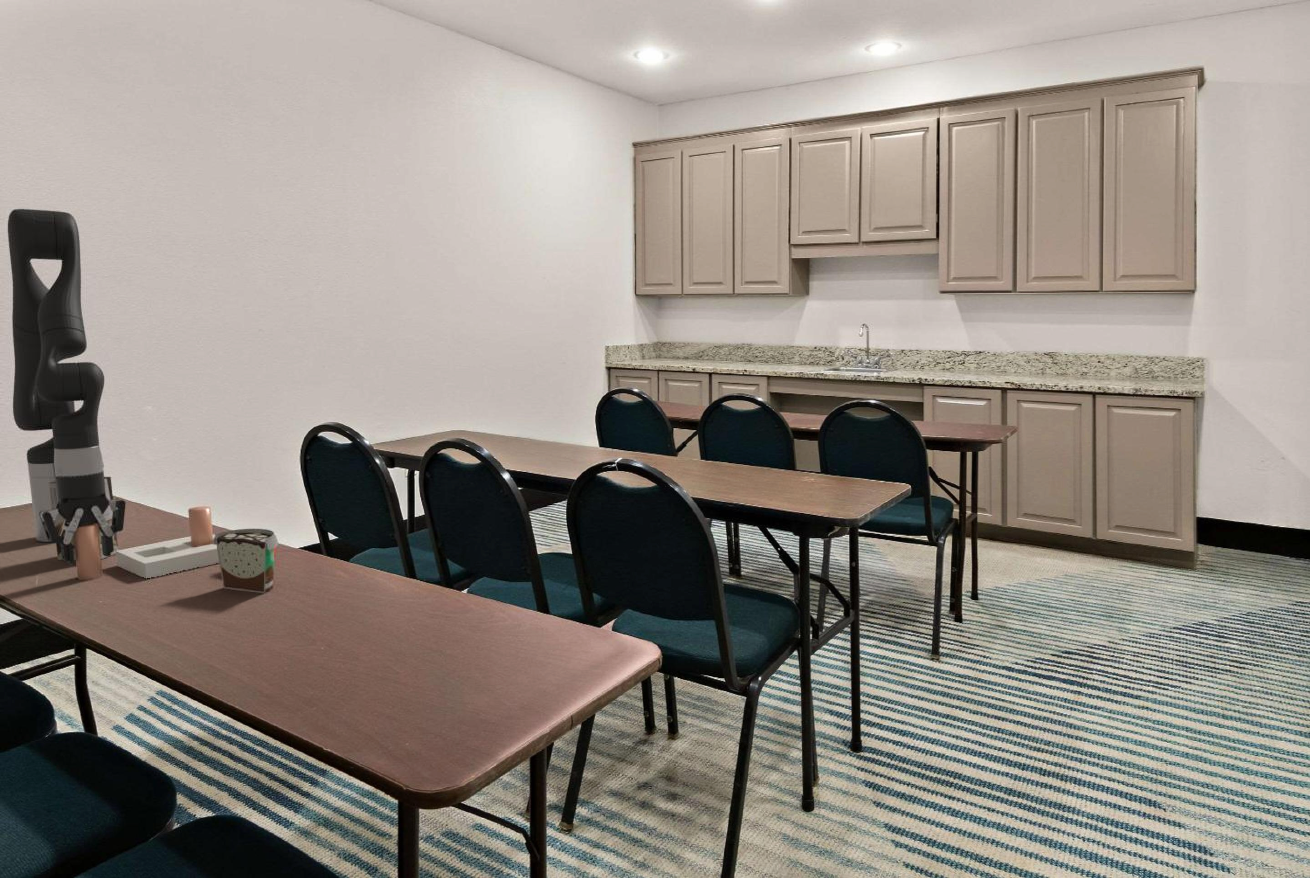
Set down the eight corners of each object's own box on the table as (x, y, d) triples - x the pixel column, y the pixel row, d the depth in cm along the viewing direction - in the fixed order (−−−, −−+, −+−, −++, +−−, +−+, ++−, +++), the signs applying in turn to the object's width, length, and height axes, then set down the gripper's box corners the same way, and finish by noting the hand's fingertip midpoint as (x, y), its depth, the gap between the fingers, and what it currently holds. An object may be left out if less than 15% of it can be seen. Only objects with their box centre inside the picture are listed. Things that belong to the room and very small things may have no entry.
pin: (74, 577, 167) (69, 525, 166) (98, 572, 170) (93, 521, 169) (82, 581, 165) (77, 528, 163) (106, 576, 168) (101, 524, 166)
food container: (296, 584, 163) (292, 530, 161) (271, 594, 157) (267, 539, 156) (242, 577, 167) (238, 525, 165) (217, 587, 161) (212, 533, 160)
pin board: (117, 565, 175) (112, 516, 173) (210, 546, 189) (206, 500, 187) (146, 579, 166) (141, 526, 165) (241, 557, 180) (238, 509, 178)
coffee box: (120, 552, 184) (112, 476, 182) (98, 561, 178) (90, 482, 176) (79, 551, 185) (71, 475, 183) (55, 560, 179) (47, 481, 176)
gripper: (114, 463, 173) (122, 547, 175) (27, 474, 162) (37, 564, 164) (129, 467, 168) (138, 554, 170) (41, 479, 157) (51, 571, 159)
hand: (88, 558), depth 167 cm, fingers open, 5 cm apart
